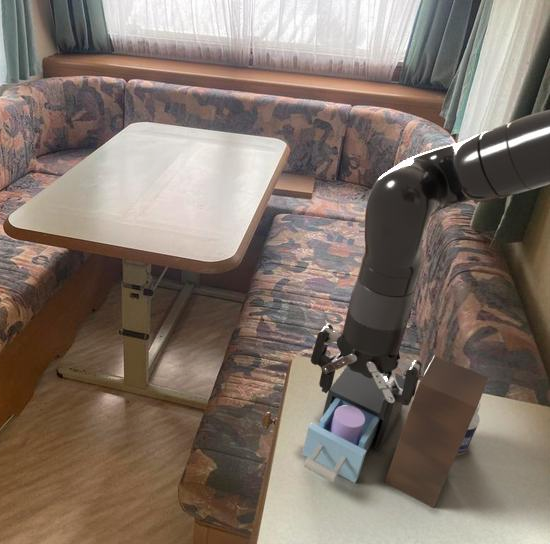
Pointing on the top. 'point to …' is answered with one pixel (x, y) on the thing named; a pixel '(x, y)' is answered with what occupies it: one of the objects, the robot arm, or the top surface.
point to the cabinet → (364, 398)
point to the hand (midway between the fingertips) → (354, 402)
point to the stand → (435, 429)
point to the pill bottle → (469, 432)
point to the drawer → (337, 446)
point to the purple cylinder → (348, 423)
